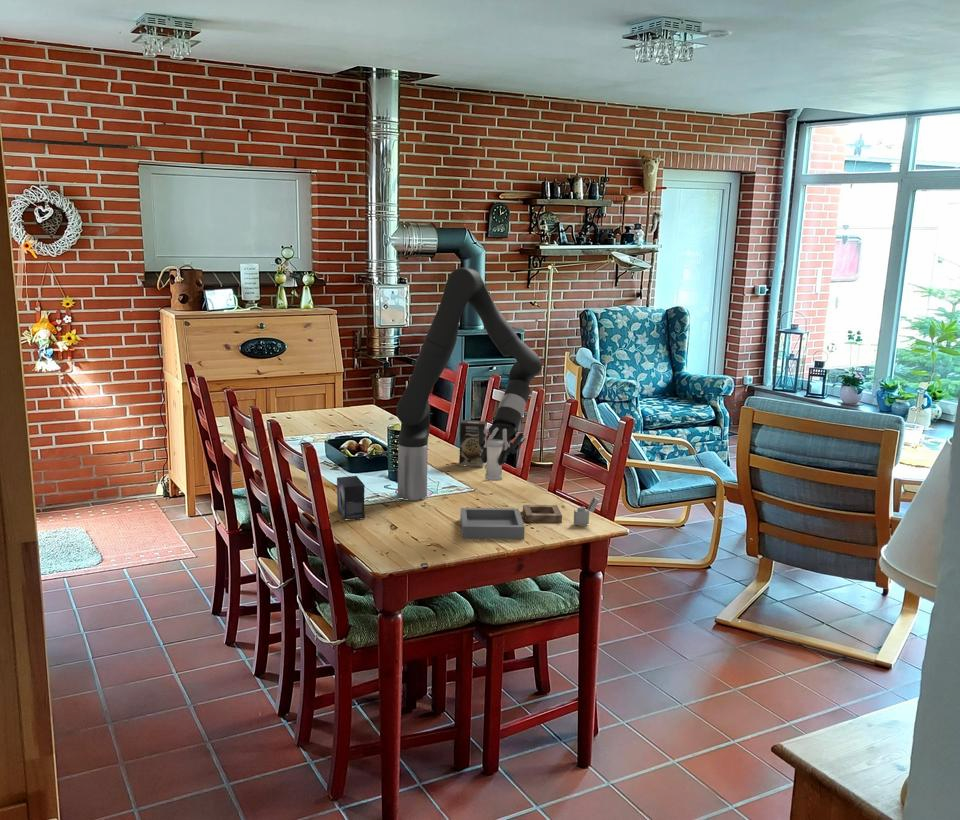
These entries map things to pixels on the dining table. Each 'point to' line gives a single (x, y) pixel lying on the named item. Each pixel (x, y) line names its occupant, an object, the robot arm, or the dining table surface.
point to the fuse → (493, 459)
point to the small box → (350, 497)
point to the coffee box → (470, 443)
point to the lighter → (584, 513)
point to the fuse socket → (532, 517)
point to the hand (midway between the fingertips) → (491, 462)
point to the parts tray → (491, 523)
